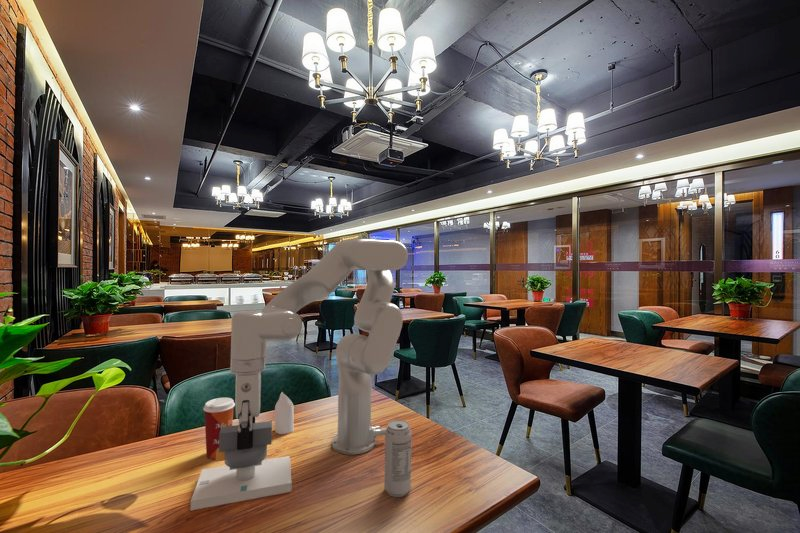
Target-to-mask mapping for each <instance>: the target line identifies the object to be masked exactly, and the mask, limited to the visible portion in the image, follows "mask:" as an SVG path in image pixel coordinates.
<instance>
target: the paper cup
mask: <svg viewBox="0 0 800 533" xmlns="http://www.w3.org/2000/svg"><path fill="white" fill-rule="evenodd" d="M234 401H235V400H234V399H233V398H231V397H217V398H213V399H210V400H208V401H207V402H205V404H204V406H203V408H202V409H203V411H204V425H205V426H204V427H205V429H204V430H205V431H204V432H205V449H206V450H205V451H206V457H207V459H209V460H216V451H217V449H218V448H219V433H220V431H221V428H222V427H226V426H233V421H234V420H233V419H234V410H235V402H234Z"/></svg>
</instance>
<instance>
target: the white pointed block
mask: <svg viewBox="0 0 800 533" xmlns="http://www.w3.org/2000/svg"><path fill="white" fill-rule="evenodd" d="M294 409H295V408H294V403H293V402H292V400H291V399H290V398H289V397H288V396H287V395H286V394H284V392H283V391H281V393H280V395H279V398H278V400H277V402H276V404H275V406H274V433H276V434H277V433H278V435H287V434H290V432H291V433H292V432H293V431H294V430H295V429H294V428H295V427H294V426H295V425H294V422H295V421H294V416H295V415H294V413H295V412H294ZM286 433H287V434H286Z"/></svg>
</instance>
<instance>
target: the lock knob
mask: <svg viewBox="0 0 800 533" xmlns="http://www.w3.org/2000/svg"><path fill="white" fill-rule="evenodd" d="M238 426H239V424H236V425H232V426H226V427H222V428H221V431H220V433H219V448H218V449H217V451H216V459H215V462H217V463H218V462H223V461H224V464H225V466H228V467H231V468H245V467H250V466H253V465H256V464H258V463H260V462H261V461H263V460H266V457H267V455H268V445H272V436H273V435H272V433H273V421H272V420H269V421H261V422H255V423H252V429H253V447H252V448H250V449H243V450H237V431H238Z"/></svg>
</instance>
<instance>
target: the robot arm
mask: <svg viewBox="0 0 800 533" xmlns="http://www.w3.org/2000/svg"><path fill="white" fill-rule="evenodd" d="M408 259H409V252H408V249H407V248H406V246H405V245H404V244H403V243H402V242H400V241H398V240H389V239H388V240H386V239H373V238H372V239H371V238H352V239H344V240H341V241H339V242H337V243H336V244H335V245H334V246H333V247H332V248H330V250H328V252H326V253H325V254H324V256H323V257H322V258H321V259H320V260H318V261H317V263H316V264H314V266H313V267H312V268H311V269H310V270H309V271H308V272H306V273H304V274H303V275H302V276H300V277H299V278H297V279H296V280H294V281H293V282H292V283H289V285H287V286H286V287H285V288H283V289H281V290H280V291H279V292H278V293H277V294H276V295H275V296H274V297H272V299H271V300H269V302H268V303H266V305H265V306H264V307H263V308H262V309H261V310H241V311H237V312H235V313H234V314H233V315H232V317H231V332H230V333H231V336H230V365H229V366H230V367H229V368H230V370H229V371H230V372H229V373H230V374H232V375H235V388H234V389H235V392H234V394H235V395H234V396H235V398H234V399H235V400H234V401H235V402H234V403H235V406H234V410H235V419H237V420H238V425H239V426H238V431H237V450H243V449H250V448H252V447H253V429H252V423H256V418H258V417H259V416H260V413H261V400H262V399H261V398H262V397H261V396H262V394H261V393H262V391H261V390H262V375H261V374H262V372H264V371H265V370H266V357H267V356H266V355H267V352H266V351H267V349H266V348H267V342H268V341H270V342H271V341H273V342H286V341H290V340H292V339H295V338H296V337H298V335H299V334H300V333H301V331H302V329H303V320H302V318H301V316H300V315H299V314H298V313H297V312H298V311H300V310H301V309H302V308H304V307H305V306H307V305H310V303H313V302H316V301H319V300H322V299H325V298H327V297H328V296H330V295H332V294H333V293H334V292H335V291H336V289H338V287H339V286H340V285H341V284H342V283H343V282H344V280H346V278H347V277H348V276H350V274H351V273H352V272H354V270H356V271H357V270H358V271H366V275H367V282H366V286H365V290H364V292H363V294H362V296H361V299H360V302H359V304H358V306H357V309H356V311H355V314H354V318H353V319H354V320H353V321H354V324H355V326H356V328H358V329H359V330H361V331H363V332H366V333H368V336H366V335H364V334H360V333H349V334H347V335H344V336H343V337H341V339H340V340H339V342H338V343H337V345H336V348H335V359H336V364H337V373H338V391H337V393H338V394H337V395H338V397H337V398H338V400H337V434H336V435H335V436H333V438H332V441H331V446H332V448H333V450H335V451H336V452H338V453H340V454H344V455H350V456H351V455H361V454H364V453H367V452H369V451H371V450H372V449H373V448H374V447H375V446H376V443H377V441H376V440H377V439H376V438H377V437H378V436H380V437H382V436H385V431H386V429H387V428H386V427H382V428H381V426H380V425H375V426H372V425H371V424H372V422H371V421H372V376H376V375H379V374H381V373H383V371H385V369H386V368H387V367H388V365H389V363H390V361H391V358H392V356H393V352H394V350H395V347H396V344H397V343H398V342H397V341H398V340H399V336H400V335H401V330H402V328H403V313H402V310H401V309H400V308H399V307H398V305H396V304H394V303H392V302H391V301H392V298H393V294H394V290H395V282H394V278H393V274H392V271H398V270H400V269H403V268H404V267H405V266H406V264H407V262H408Z"/></svg>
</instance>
